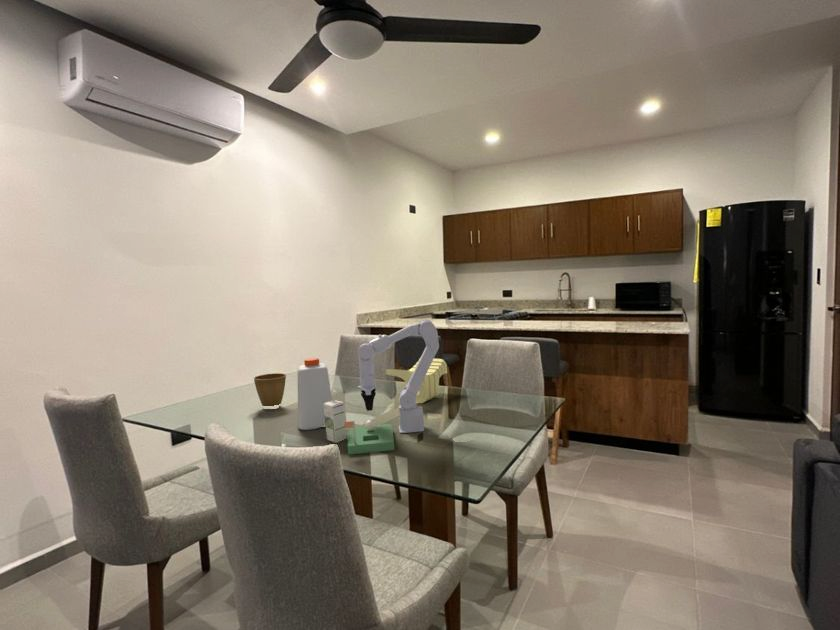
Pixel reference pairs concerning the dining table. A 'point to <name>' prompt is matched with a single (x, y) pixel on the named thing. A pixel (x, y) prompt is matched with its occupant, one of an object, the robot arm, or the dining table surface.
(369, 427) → the ball
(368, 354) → the robot arm
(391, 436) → the green slotted block
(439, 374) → the slatted curved stool
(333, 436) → the syrup box
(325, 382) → the plastic bottle
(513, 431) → the dining table surface
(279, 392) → the plant pot
